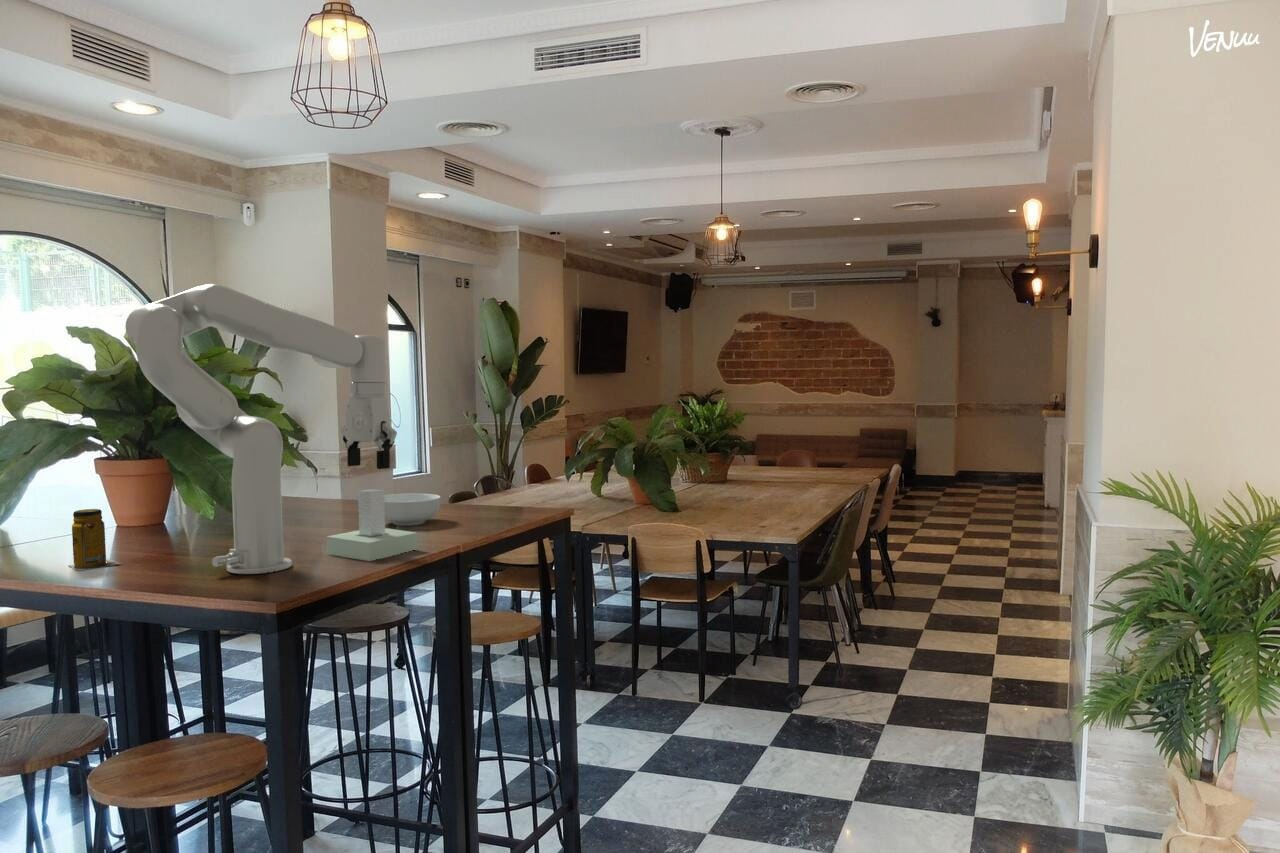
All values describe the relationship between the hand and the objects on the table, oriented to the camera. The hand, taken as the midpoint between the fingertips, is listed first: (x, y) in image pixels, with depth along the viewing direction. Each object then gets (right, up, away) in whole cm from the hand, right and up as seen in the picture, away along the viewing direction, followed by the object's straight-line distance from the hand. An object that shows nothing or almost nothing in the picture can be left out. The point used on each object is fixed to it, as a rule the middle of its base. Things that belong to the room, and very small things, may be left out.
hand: (368, 467), depth 215 cm
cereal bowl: (0, -17, +40) cm, 43 cm away
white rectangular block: (+1, -19, +2) cm, 19 cm away
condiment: (-56, -21, -10) cm, 60 cm away
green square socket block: (+1, -19, +2) cm, 19 cm away
